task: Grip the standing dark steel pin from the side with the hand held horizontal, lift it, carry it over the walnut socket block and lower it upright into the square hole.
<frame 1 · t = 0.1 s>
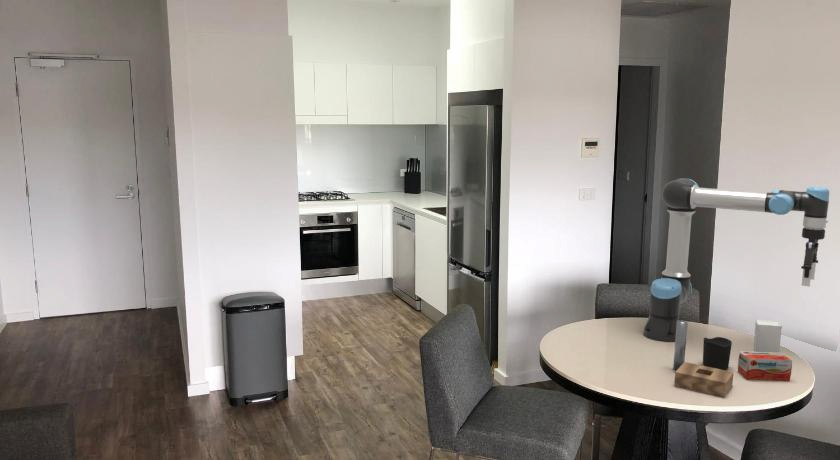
hand: (807, 282, 263), 28 cm above the table, tool pointing down, fingers open, 13 cm apart
pin: (678, 369, 247), on the table
medicine box: (763, 377, 242), on the table
pen holder: (715, 366, 251), on the table
socket block: (703, 386, 232), on the table
skincare box: (764, 362, 256), on the table
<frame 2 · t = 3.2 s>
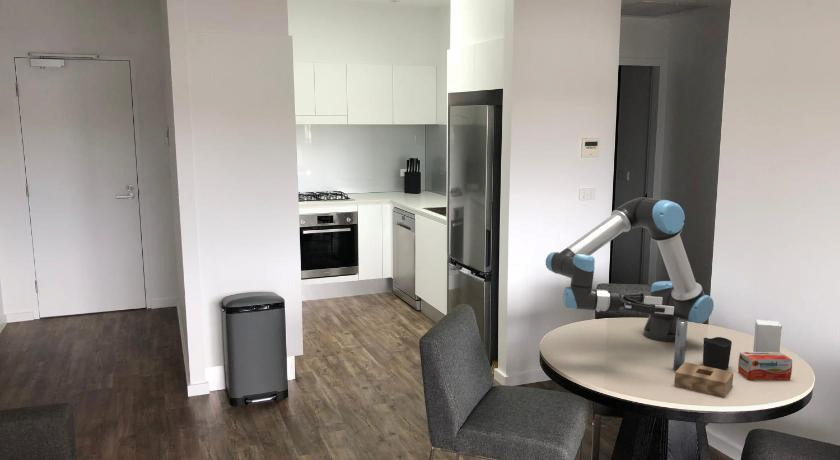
hand: (667, 305, 244), 24 cm above the table, tool horizontal, fingers open, 13 cm apart
nothing on the table moved.
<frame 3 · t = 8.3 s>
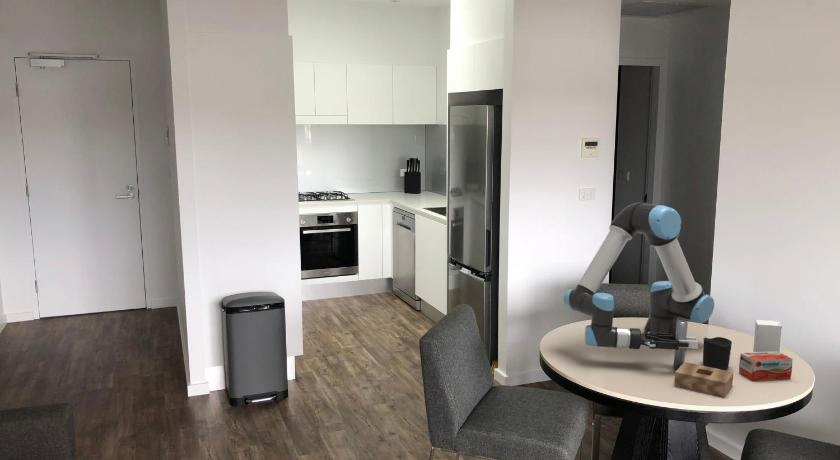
hand: (696, 342, 244), 11 cm above the table, tool horizontal, fingers closed on pin, 3 cm apart
pin: (678, 369, 247), on the table, touching gripper
when the fingers open (13 cm above the table, at t = 12.3 s): pin drops 3 cm, resting in socket block.
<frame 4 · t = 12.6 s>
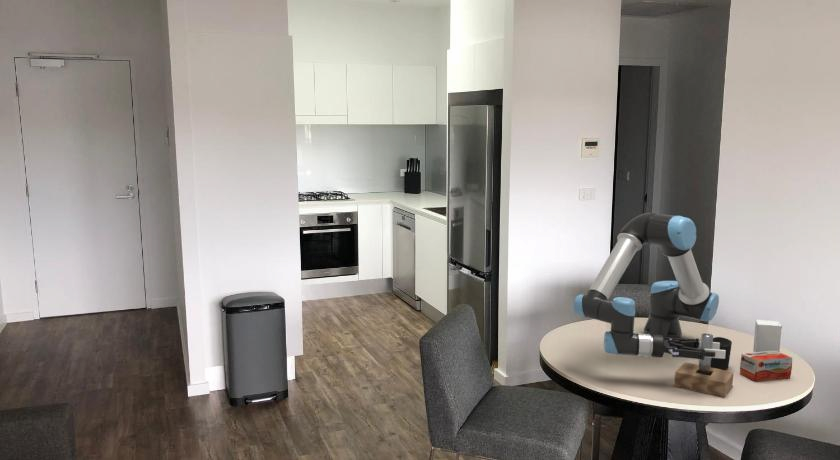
hand: (722, 350, 229), 13 cm above the table, tool horizontal, fingers open, 7 cm apart
pin: (703, 386, 232), resting in socket block
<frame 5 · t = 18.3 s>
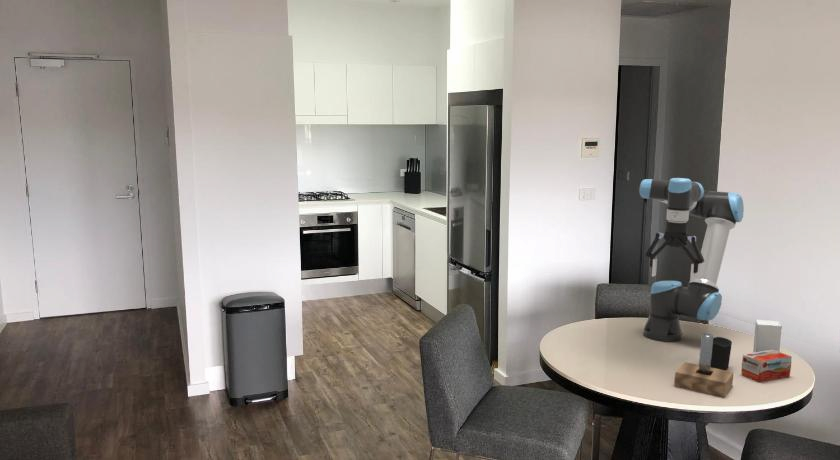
hand: (672, 278, 250), 32 cm above the table, tool pointing down, fingers open, 13 cm apart
at the end: pin 0.1 cm off-centre on the socket block, point 0.0 cm above the socket block's base; pin tilted 0°; the gripper is holding nothing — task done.
